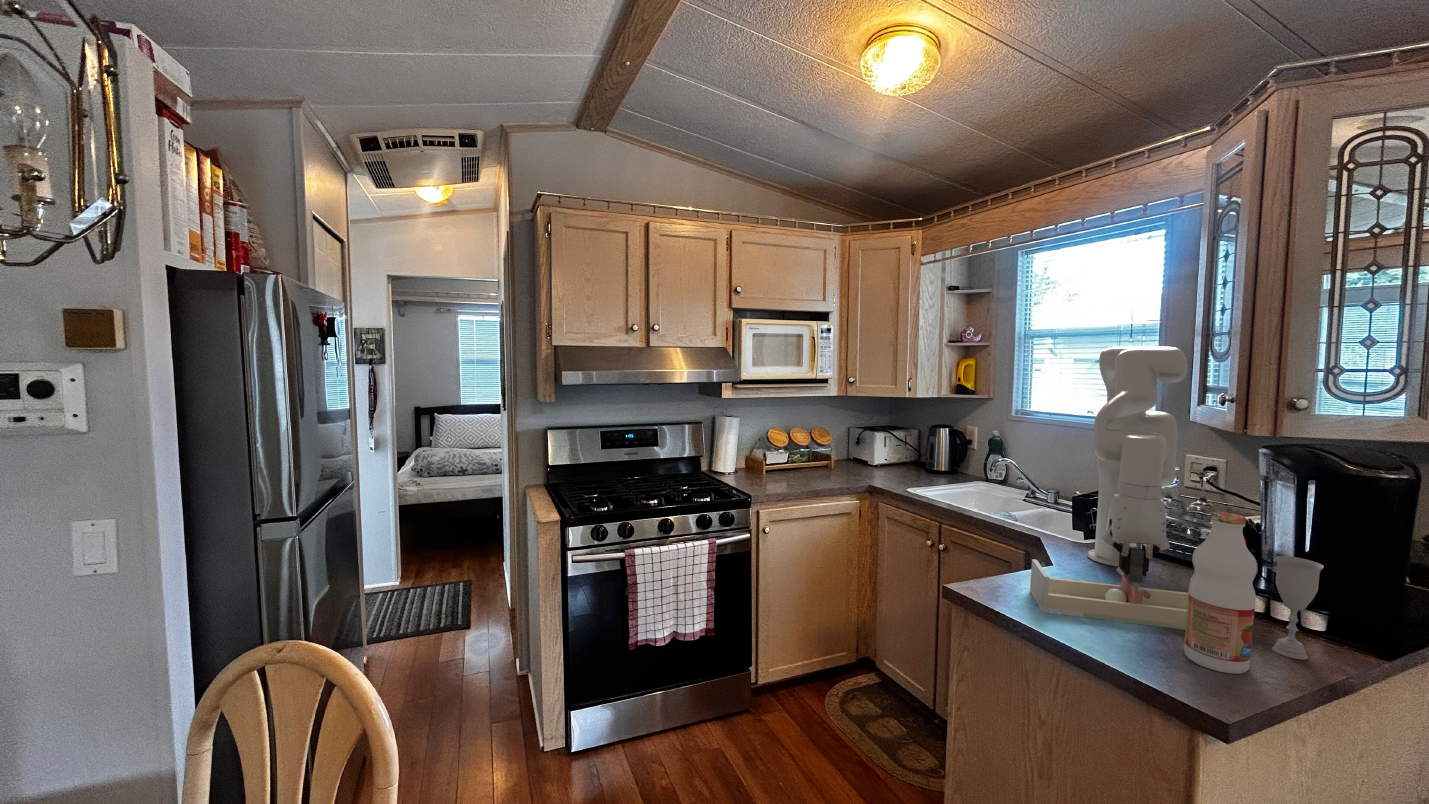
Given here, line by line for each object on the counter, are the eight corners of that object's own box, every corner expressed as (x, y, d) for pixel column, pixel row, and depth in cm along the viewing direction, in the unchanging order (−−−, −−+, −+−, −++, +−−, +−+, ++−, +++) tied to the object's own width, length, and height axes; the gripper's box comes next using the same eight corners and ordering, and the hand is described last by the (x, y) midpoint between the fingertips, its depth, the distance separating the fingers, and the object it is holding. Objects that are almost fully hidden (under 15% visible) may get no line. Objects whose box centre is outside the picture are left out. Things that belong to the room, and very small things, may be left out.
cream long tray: (1030, 591, 143) (1032, 559, 142) (1187, 610, 134) (1189, 575, 133) (1042, 611, 132) (1044, 576, 131) (1214, 633, 123) (1217, 595, 122)
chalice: (1267, 640, 120) (1275, 553, 119) (1314, 652, 115) (1323, 562, 114) (1264, 652, 115) (1273, 561, 113) (1314, 666, 110) (1324, 571, 109)
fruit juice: (1175, 645, 117) (1187, 506, 115) (1235, 655, 114) (1248, 511, 111) (1194, 668, 108) (1207, 518, 106) (1259, 679, 105) (1274, 524, 103)
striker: (1111, 592, 140) (1115, 537, 139) (1123, 593, 139) (1127, 538, 138) (1138, 621, 125) (1143, 559, 124) (1152, 622, 124) (1156, 561, 123)
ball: (1127, 594, 134) (1114, 606, 135) (1111, 582, 134) (1098, 594, 135) (1134, 601, 130) (1120, 613, 131) (1117, 588, 131) (1104, 601, 132)
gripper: (1174, 490, 131) (1167, 571, 133) (1091, 485, 136) (1086, 563, 137) (1191, 498, 124) (1184, 584, 126) (1103, 492, 129) (1097, 574, 130)
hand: (1133, 572), depth 131 cm, fingers closed on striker, 2 cm apart
